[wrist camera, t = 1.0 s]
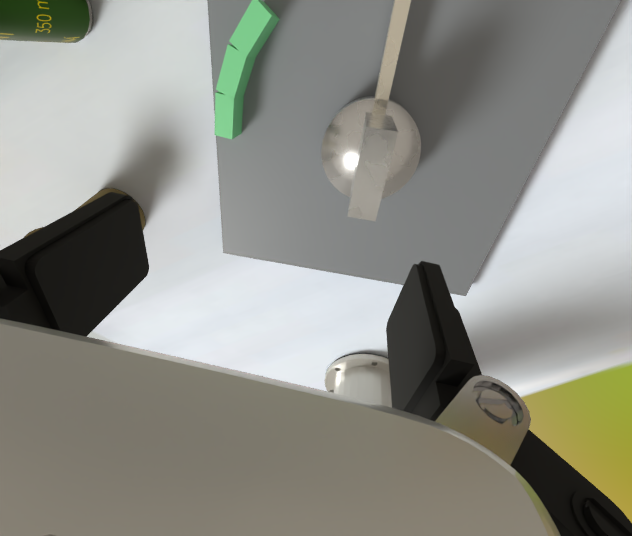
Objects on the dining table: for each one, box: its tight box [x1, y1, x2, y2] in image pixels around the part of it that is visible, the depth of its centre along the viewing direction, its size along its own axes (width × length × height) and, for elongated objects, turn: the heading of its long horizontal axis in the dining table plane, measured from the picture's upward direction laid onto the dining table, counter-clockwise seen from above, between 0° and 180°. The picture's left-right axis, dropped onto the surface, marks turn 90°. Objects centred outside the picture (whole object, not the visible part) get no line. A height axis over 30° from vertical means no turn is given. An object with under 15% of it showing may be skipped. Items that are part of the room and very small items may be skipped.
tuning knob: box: [321, 0, 421, 221], centre depth 22 cm, size 14×8×8 cm, turn 173°
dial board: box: [208, 0, 621, 296], centre depth 27 cm, size 28×28×4 cm
